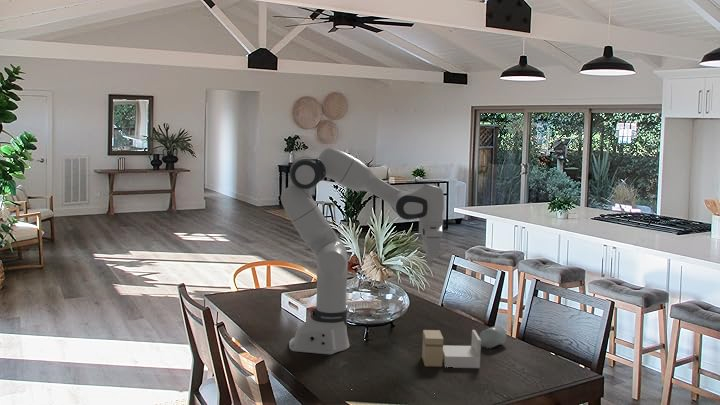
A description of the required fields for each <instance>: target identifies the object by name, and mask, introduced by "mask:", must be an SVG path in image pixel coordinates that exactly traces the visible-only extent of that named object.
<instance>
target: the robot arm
mask: <svg viewBox="0 0 720 405" xmlns="http://www.w3.org/2000/svg"><path fill="white" fill-rule="evenodd" d="M289 177H290V180H291V181H290V182H291V183H290V185H289V186H288V187H286V188H285V189H283V191H282V192H281V195H280V201H281V204H282V206H283V209H284V211H285V213H286V215H287V217H288V218H289V220H290V221H291V222H290V223H291V224H292V226H294V228H295V229H296V231H297V233H298V235H300V237H301V239H302V241H304V242H305V243H306V245H307V246H308V248H309V249H310V250H311V251H312V253H313V254H314V255H315V257H316V303H315V305H316V306H313V305H312V306H311V307H310V309H309V312H310V318H309V319H307V320H306V321H304V322H303V323H302V324H300V325H299V326H298V328H297V329H296V332H295V336H294V337H292V338H291V339H290V340H289V343H288V348H289V350H290V351H292V352H300V353H308V354H309V353H311V354H321V355H333V354H335V353H338V352H342V351H345V350H348V348H350V346H351V345H350V341H349V337H348V330H347V323H348V313H349V312H348V308H347V293H348V292H347V289H348V288H347V287H348V271H349V269H348V266H349V265H348V264H349V259H348V253H347V249H346V247H345V244H344V243H343V242H342V240H341V239H340V237H339V236H338V235H337V233H336V232H335V230H334V229H333V228H332V226H331V225H330V224H329V222H328V220H327V219H326V217H325V216H324V214H323V212H322V211H321V209H320V208H319V206H318V204H317V203H316V202H315V200H314V198H313V196H312V194H311V188H314V187H316V185H318V184H319V183H320V182H321V181H322V180H323V179H324V178H328V179H330V180H332V181H334V182H336V183H337V184H339V185H341V186H343V187H344V188H347V189H350V190H352V191H356V192H367V193H370V194H372V195H374V196H376V197H378V198H380V199H381V200H383V201H384V202H385V203H386V202H387V204H389V206H391V208H392V210H393V211H394V212H395V213H396V214H397V215H398V217H399V218H401V219H403V220H415V219H418V233H419V234H421V237H422V239H421V240H422V244H421V246H422V249H423V250H424V252H425V256H426V265H427V266H428V267H432V266H433V262H434V261H433V260H434V259H438V258H439V255H440V248H441V238H443V237H444V236H443V233H444V217H443V216H444V215H443V213H444V210H445V208H444V207H445V197H444V196H445V195H444V190H443V189H442V188H441V187H439V186H438V185H435V184H430V183H428V184H427V183H424V184H422V185H421V186H420V187H418V188H416V189H413V190H410V189H404V188H403V189H402V188H397V187H395V186H393V185H391V184H389V183H387V182H386V181H384V180H382V179H381V178H379V177H378V176H376V175H375V174H374V172H373V171H372V170H371V168H369V167H368V166H367V165H366V164H365V163H364V162H363V161H361V160H360V159H358V158H356V157H354V156H353V155H352V154H349V153H347V152H346V151H343V150H340V149H338V148H335V147H333V146H332V147H331V146H330V147H327V148H324V149H323V151H321V152H320V154H319V156H318V157H316V158H312V157H310V156H309V157H308V156H301V157H299V158H297V159H295V160H294V161H293V162H292V164H291V166H290V168H289Z"/></svg>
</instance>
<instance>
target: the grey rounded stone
mask: <svg viewBox="0 0 720 405" xmlns="http://www.w3.org/2000/svg"><path fill="white" fill-rule="evenodd" d="M507 335H508V334H507V331H506V330H505V328H504V327H503V326H501V325H495V326H494V325H493V326H492V327H489V328H486V329H483V330H481V332H480V333H479V334H478V336H479V338H480V339H481V347H483V348H485V347H486V348H485V349H488V348H489V349H492V348H495V347H497V346H499V345H502V344H504V343H505V342H506V341H507V337H508V336H507Z"/></svg>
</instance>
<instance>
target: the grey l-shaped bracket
mask: <svg viewBox="0 0 720 405" xmlns="http://www.w3.org/2000/svg"><path fill="white" fill-rule="evenodd" d="M481 349H482V344H481V339H480V338H479V334H478V332H477V331H476V329H472V330H471V344H470V345H447V344H446V345H445V344H443V359H442V364H443V363H444V364H443V366H444V368H445V369H446V367H447V369H448V367H453V368H454V369H455V368H457V369H460V368H461V369H480V368H481V353H482V352H481ZM453 368H452V369H453Z"/></svg>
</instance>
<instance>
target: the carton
mask: <svg viewBox="0 0 720 405" xmlns="http://www.w3.org/2000/svg"><path fill="white" fill-rule="evenodd" d="M443 345H444V336H443V334H442V332H441V330H440V329H437V330H436V329H422V350H421V351H422V352H421V358H422V362H423V364H424V367H443V361H442V359H443Z"/></svg>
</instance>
